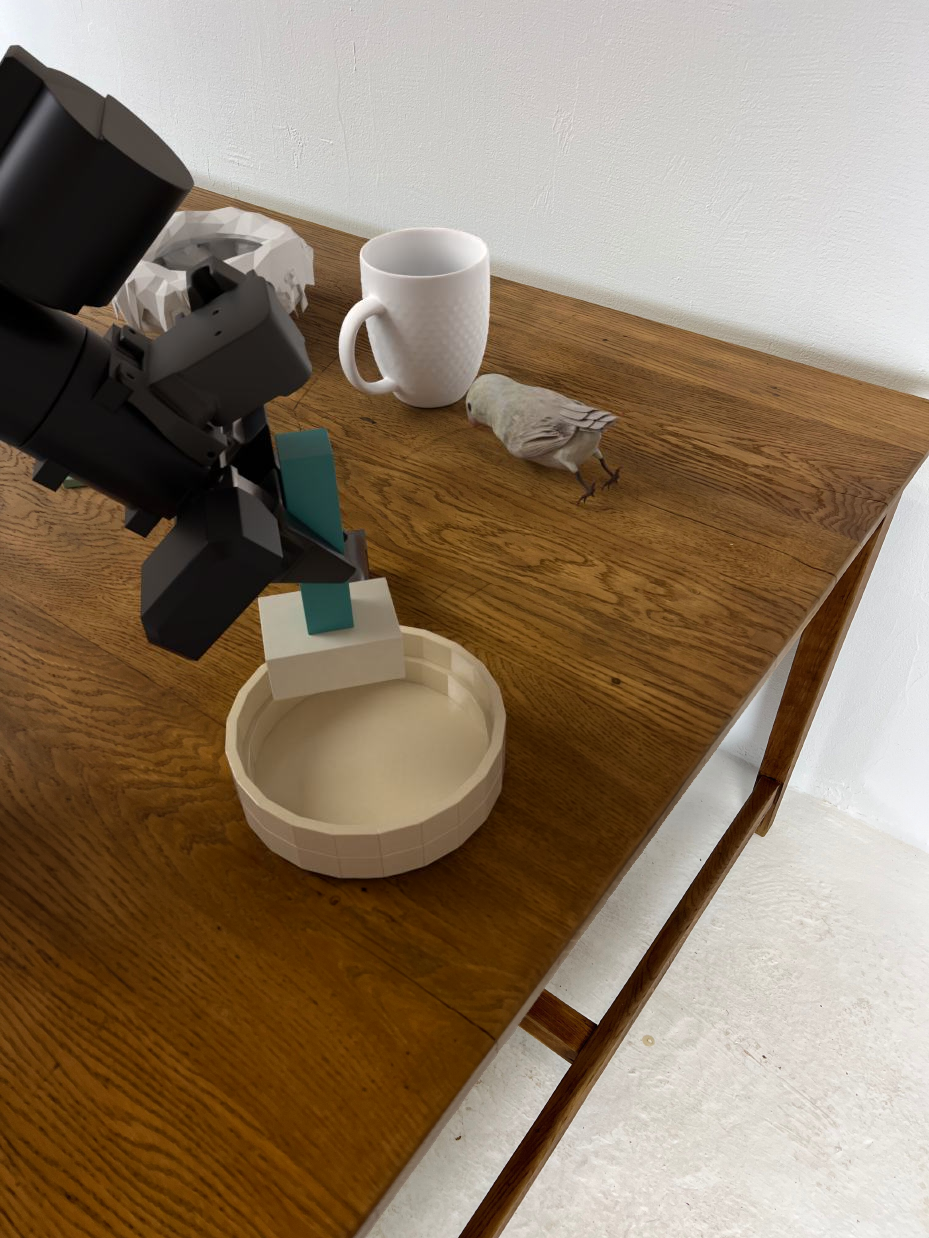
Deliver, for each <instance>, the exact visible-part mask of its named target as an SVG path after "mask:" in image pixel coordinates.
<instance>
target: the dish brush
mask: <svg viewBox="0 0 929 1238" xmlns="http://www.w3.org/2000/svg"><path fill="white" fill-rule="evenodd" d="M274 441H275V448H276V453H277V454H278V460H279V465H280V471H281V477H282V483H283V489H284V495H285V501H286V507H287V511H289V512H290V513H291V514H293V515H294V516H295V517H297V518H298V519H299V520H301V521H302V522H303V523H304V524H306V525H307V526H308V527H310V528H311V529H312V530H314V531H315V532H316V533H317V534H319V535H320V536H321V537H323V538H324V539H325V540H326V541H328V542H329V543H330V544H332V545H333V546H334V547H336V548H337V549H338V550H339V551H340V552H341V553H343V554H344V555H345V547H344V538H343V530H342V527H343V522H342V514H341V505H340V499H339V498H340V497H339V490H338V482H337V481H338V480H337V473H336V466H335V457H334V452H333V447H332V444H331V441H330V436H329V432H328V429H327V428H326V427H320V428H314V429H306V430H305V429H304V430H299V431H298V430H297V431H292V432H291V431H289V432H282V433H277V434H274ZM345 556H346V555H345ZM298 584H299V589H300V590H297V591H291V592H285V593H279V594H272V595H266V596H260V597H257V602H258V610H259V618H260V627H261V636H262V643H263V651H264V659H265V663H266V665H267V669H268V674H269V679H270V683H271V688H272V693H273V697H274V700H275V701H276V700H281V699H287V698H292V697H298V696H304V695H309V694H315V693H320V692H326V691H331V690H337V689H342V688H348V687H353V686H359V685H364V684H370V683H375V682H381V681H387V680H392V679H398V678H403V677H405V664H404V651H403V638H402V634H401V630H400V627H399V625H400V623H399V620H398V616H397V613H396V610H395V606H394V603H393V599H392V595H391V592H390V589H389V585H388V582H387V578H386V577H385V576H384V577H378V578H370V580H365V581H359V582H353V583H349V580H348V581H347V582H345V583H343V584H304V583H298Z"/></svg>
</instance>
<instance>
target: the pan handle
mask: <svg viewBox="0 0 929 1238" xmlns="http://www.w3.org/2000/svg"><path fill="white" fill-rule="evenodd" d="M346 531H347V534H348V539H347V540H346V541H345V542H344V547H345V555H346V557H347V558H348V559H349V560H351V561H352V562H353V563H354V564H355V566H356V572H355V574H354V575H353V576H352V577H351V578H350V579H349V583H353V582H359V581H365V580H371V572H370V563H369V554H368V545H367V537H366V530H365V529H364V528H362V529H361V528H359V529H351V530H346Z"/></svg>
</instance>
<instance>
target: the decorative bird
mask: <svg viewBox="0 0 929 1238" xmlns="http://www.w3.org/2000/svg"><path fill="white" fill-rule="evenodd" d="M465 408H466V413H467V419H468V421H469V423H470V425H471V426H472V427H473V428H474V429H475V428H480V427H483V426H488V427H489V428H492V431H493V433H494V435H495V436H496V437H497V438H498V439H499V440H500V441H501V442H502V443H503V445H504V446H505V448H506V449H507V451H508V452H509V454H511V455H512V457H514V458H515V459H518V460H528V461H531V462H534V463H535V464H538V465H541V466H544V467H548V468H554V469H558V470H560V471H564V472H565V471H566V472H569V471H570V472H572V473H573V474H574V475H575V477H576V479H577V481H578V483H579V484H580V485H581V486H582V487H583V488H584V489H585V490H586V492H585V493H583V494H582V495H581V496H580V497H579V499H578V501H577V503H576V507H578V506H579V503H580V502H581V501H583V504H584V505H586V502H587V499H588V498H589V497H592V498H595V492H596V488H595V486H596V483H597V482H599V480H595V481H593V482H592V483H591V485H590V487H589V485H588V484H586V482H585V481H584V480H583V478H582V476H581V473H580V471H579V469H578V467H580V466H582V465H583V464H584V463H586V462H587V461H588V460H589V458H590V457H591V456H593V457H595V458H596V459H597V460H598V461H599V463H600V466H601V467H602V469H603V471H605V472H606V474H607V475H608V476H610V479H608V480H607V481H606V482H605V483H604V484H603V486H602V488H601V492H600V493H601V494H602V493H603V491H604V489H605V487H607V491H608V492H610V487H611V485H613V484H614V483H615V484H617V485H619V482H618V480H619V479H620V477H621V475H620V470H621V469H623V468H624V466H620V467H618V468H617V469H616V470H615V472H614V473H613V472H612V471H611V470H610V469H609V467H608V466H607V464H606V461H605V459H604V458H603V454H602V453H601V451H600V449H599V446H600V442H601V439H602V436H603V435H602V433H605V432H607V431H608V429H607V428H604V427H616V426H617V424H616V423H615V421H614V420H617V419H621V417H620V416H615V415H612V412H609V411H603V410H601V408H596V407H592V406H588V405H586V404H585V403H583V402H581V401H579V400H576V399H573V398H568V397H567V396H565V395H563V394H561V393H558V392H556V391H554V390H550V389H547V388H543V387H541V386H532V385H528V384H522V383H519V382H517V381H515V380H514V379H512V378H510V377H508V376H506V375H503V374H499V373H487V374H482V375H480V376H479V377H476V378H475V379H474V381H473V383H472V385H471V386H470V388H469V389H468V391H467V392H466V398H465Z"/></svg>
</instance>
